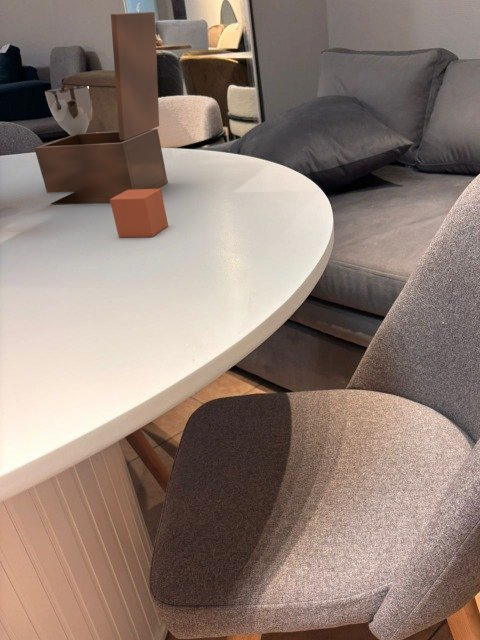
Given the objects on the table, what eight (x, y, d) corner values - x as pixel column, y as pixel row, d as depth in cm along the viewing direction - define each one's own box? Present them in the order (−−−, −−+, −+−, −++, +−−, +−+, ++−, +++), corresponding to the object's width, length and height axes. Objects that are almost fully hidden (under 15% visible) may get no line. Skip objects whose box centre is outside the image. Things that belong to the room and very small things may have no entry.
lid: (110, 13, 88) (115, 14, 87) (150, 11, 98) (155, 12, 98) (119, 139, 97) (124, 140, 96) (154, 125, 107) (159, 126, 107)
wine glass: (90, 166, 132) (70, 86, 124) (116, 168, 127) (97, 85, 120) (58, 175, 126) (35, 92, 119) (84, 177, 122) (62, 91, 114)
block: (118, 237, 85) (109, 199, 82) (135, 226, 89) (127, 189, 86) (152, 237, 84) (144, 198, 81) (168, 225, 88) (161, 188, 85)
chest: (50, 204, 105) (34, 148, 101) (89, 185, 116) (76, 133, 111) (135, 201, 101) (122, 143, 97) (167, 182, 112) (157, 128, 107)
